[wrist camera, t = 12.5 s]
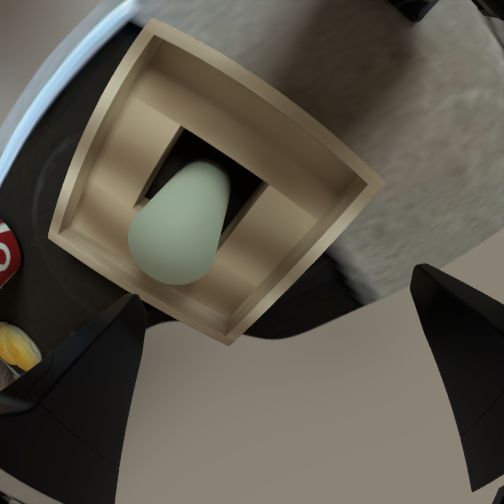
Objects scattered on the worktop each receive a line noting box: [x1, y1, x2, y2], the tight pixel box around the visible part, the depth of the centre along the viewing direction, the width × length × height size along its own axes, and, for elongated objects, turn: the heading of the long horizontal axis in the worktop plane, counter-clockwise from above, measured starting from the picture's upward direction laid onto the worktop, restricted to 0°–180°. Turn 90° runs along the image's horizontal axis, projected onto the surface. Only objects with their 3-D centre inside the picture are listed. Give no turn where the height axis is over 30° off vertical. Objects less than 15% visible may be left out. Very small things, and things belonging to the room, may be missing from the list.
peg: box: [128, 158, 232, 285], centre depth 16 cm, size 4×4×9 cm
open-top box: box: [48, 18, 385, 346], centre depth 18 cm, size 16×16×4 cm
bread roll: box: [0, 322, 42, 371], centre depth 29 cm, size 8×9×4 cm
